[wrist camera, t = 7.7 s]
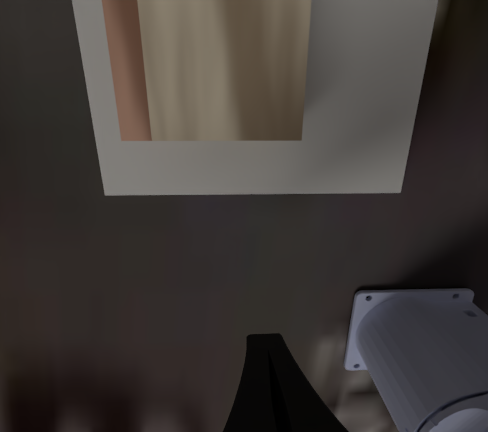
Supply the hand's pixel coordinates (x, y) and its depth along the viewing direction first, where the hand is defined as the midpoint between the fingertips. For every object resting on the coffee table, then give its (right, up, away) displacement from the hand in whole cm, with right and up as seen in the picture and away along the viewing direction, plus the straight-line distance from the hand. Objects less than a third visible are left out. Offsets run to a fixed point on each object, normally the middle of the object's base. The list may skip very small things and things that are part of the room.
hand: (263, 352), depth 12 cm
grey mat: (0, +13, +6) cm, 14 cm away
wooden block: (+2, +13, +4) cm, 14 cm away
